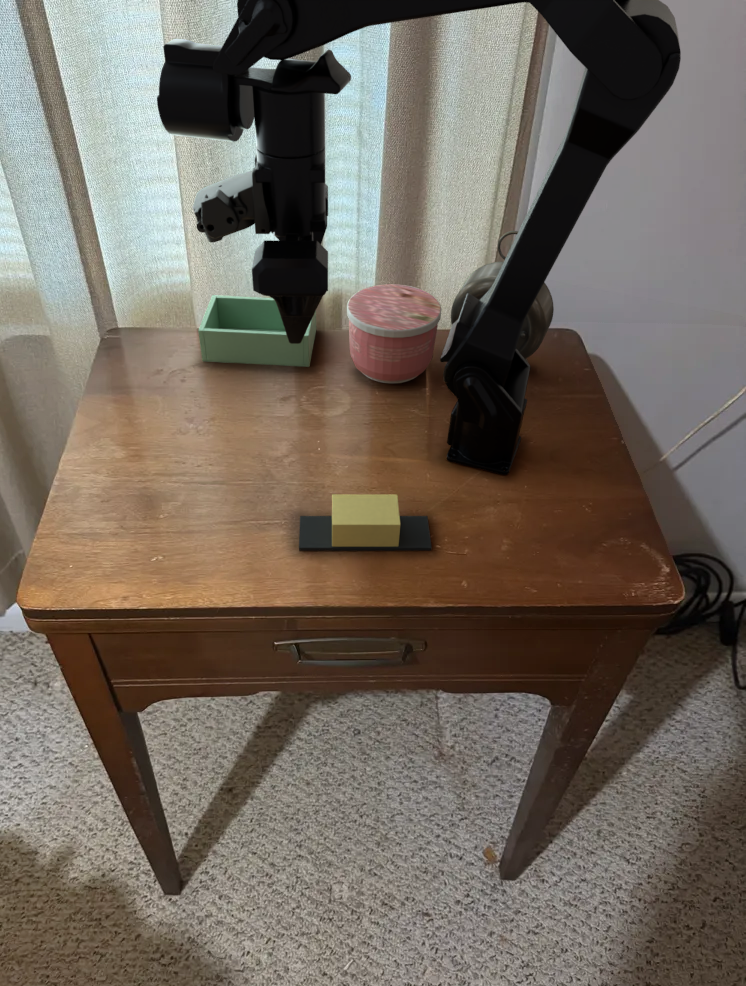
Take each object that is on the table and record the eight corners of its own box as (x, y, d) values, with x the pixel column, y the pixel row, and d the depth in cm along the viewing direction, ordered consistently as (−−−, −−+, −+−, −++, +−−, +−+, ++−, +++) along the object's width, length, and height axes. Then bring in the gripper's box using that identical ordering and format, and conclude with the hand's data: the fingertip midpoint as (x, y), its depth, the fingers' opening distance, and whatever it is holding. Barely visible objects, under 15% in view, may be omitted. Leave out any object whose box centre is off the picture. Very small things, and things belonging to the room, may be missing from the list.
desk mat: (427, 518, 71) (427, 515, 71) (431, 550, 68) (431, 547, 68) (300, 518, 71) (300, 515, 71) (298, 550, 68) (298, 547, 68)
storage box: (316, 333, 95) (315, 299, 92) (309, 370, 89) (308, 335, 86) (216, 328, 95) (212, 294, 92) (202, 364, 89) (197, 330, 86)
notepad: (331, 516, 71) (332, 494, 69) (395, 516, 71) (397, 494, 69) (332, 546, 68) (332, 524, 66) (398, 546, 68) (400, 524, 66)
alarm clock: (541, 365, 90) (573, 231, 78) (530, 389, 87) (562, 251, 75) (454, 344, 93) (472, 212, 82) (440, 366, 90) (456, 231, 78)
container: (414, 403, 84) (421, 339, 79) (330, 379, 88) (330, 316, 82) (447, 357, 91) (455, 295, 85) (367, 337, 94) (370, 276, 88)
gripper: (206, 110, 69) (223, 273, 80) (177, 189, 56) (202, 370, 67) (328, 111, 69) (328, 273, 80) (327, 190, 56) (328, 371, 67)
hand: (296, 317), depth 74 cm, fingers open, 9 cm apart
